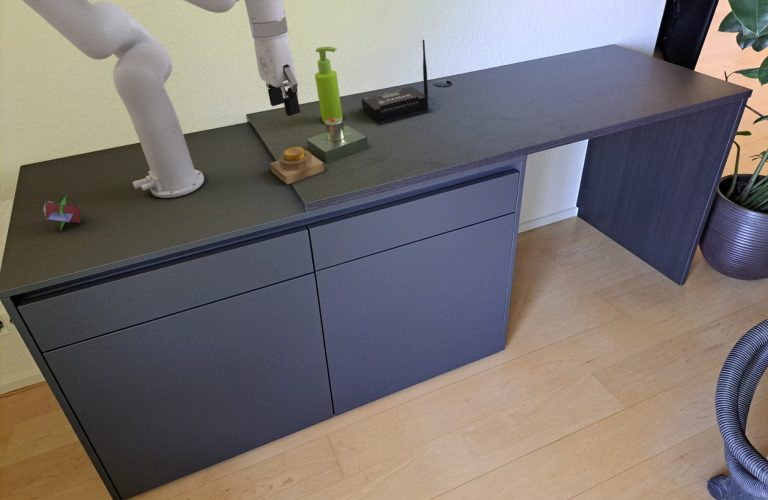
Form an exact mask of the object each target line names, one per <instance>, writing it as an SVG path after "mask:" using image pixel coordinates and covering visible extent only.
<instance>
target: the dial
mask: <svg viewBox="0 0 768 500" xmlns="http://www.w3.org/2000/svg"><path fill="white" fill-rule="evenodd" d="M343 120H344V119H343V118H342V119H341V118H331V117H330V118H329V119H328V120H326V121H325V122H324V125H325V129H326V130H325V133H326V132H327V138H328V140H329V141H340V140H342V139H344V138H345V134H344V122H343Z"/></svg>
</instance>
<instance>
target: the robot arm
mask: <svg viewBox="0 0 768 500" xmlns="http://www.w3.org/2000/svg"><path fill="white" fill-rule="evenodd" d="M21 1H22V2H23V3H24V4H25V5H26V6H28V7H29V8H31V10H33V11H34V12H35V13H36V14H38V15H39V16H40V17H41V18H42V19H43V20H44V21H45V22H46V23H47V24H48V25H50V26H51V27H52V28H53V29H55V30H56V31H57V32H58V33H59V34H60V35H61V36H63V37H64V38H65V39H66V40H67V41H68V42H69V43H70V44H72V45H73V46H74V47H75V48H76V49H78V50H79V51H80V52H81V53H83V54H84V55H85V56H87V57H88V58H90V59H92V60H93V59H94V60H97V61H98V60H106V59H108V58H110V57H111V56H113V55H114V56H115V57H116V58H117V59H118V60H117V61H116V63H115V65H114V67H113V72H112V80H113V85H114V88H115V90H116V91H117V94H118V96H119V98H120V99H121V101H122V103H123V105H124V107H125V108H126V111H127V114H128V115H129V117H130V118H129V119H130V121H131V123H132V126H133V129H134V131H135V133H136V135H137V138H138V141H139V143H140V146H141V148H142V152H143V155H144V157H145V159H146V162H147V165H148V167H149V170H148V171H147V173H148V175H146V176H145V178H141V179H138V180H135V181H132V185H133V188H134V189H135V190H139V189H141V190H142V191H143V192H145V191H147V190H150V192H151V194H152V196H154V197H157V198H160V199H161V198H162V199H170V198H171V199H172V198H177V197H181V196H185V195H188V194H191V193H193V192H195V191H196V190H197V189H199V188H200V187H201V186H202V185H203V184H204V182H205V177H204V174H203V172H202V171H200V170H198V169H195V166H194V163H193V161H192V157H191V155H190V150H189V147H188V145H187V141H186V139H185V135H184V132H183V129H182V125H181V124H180V120H179V118H178V114H177V111H176V108H175V106H174V104H173V102H172V100H171V98H170V96H169V94H168V92H167V90H166V87H165V84H166V82H167V81H168V79H169V78H170V76H171V73H172V72H173V60H172V57H171V55H170V53H169V52H168V50H167V49H166V47H165V46H163V44H161V42H160V41H159V40H158V39H156V37H155V36H153V35H152V34H151V32H149V31H148V30H147V29H146V28H145V27H144V26H142V25H141V24H140V22H139V21H137V20H136V19H135V18H134V17H133V16H132V15H131V14H130V13H129V12H127V11H126V10H125V9H123V8H122V7H121V6H120V5H117V4H115V3H112V2H109V1H95V2H93V3H91V2H90V1H89V0H21ZM183 1H185V2H186V3H189V4H191V5H193V6H194V7H198V8H200V9H203V10H205V11H207V12H211V13H215V14H221V13H226V12H229V11H230V10H231V9H233V7H234V6H235V5H236V3H238V2H239V1H240V0H183ZM243 1H244V3H245V9H246V12H247V17H248V22H249V27H250V31H251V37H252V39H253V42H254V43H253V45H254V52H255V57H256V64H257V68H258V75H259V78H260V79H261V80H262V81H264V82H265V86H266V88H267V93H268V99H269V103H270V106H271V107H276V106H279V105H283V106H284V111H285V115H286V116H287V117H291V116H293V115H297V114H300V113H301V109H300V103H299V98H298V95H299V93H298V85H299V82H298V80H297V75H296V68H295V65H294V64H295V63H294V59H293V53H292V50H291V47H290V42H289V39H288V36H287V35H288V34H289V27H288V23H287V22H288V21H287V17H286V10H285V6H284V0H243ZM285 81H287V82H285ZM286 88H287V89H286Z"/></svg>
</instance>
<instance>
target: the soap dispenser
mask: <svg viewBox="0 0 768 500" xmlns="http://www.w3.org/2000/svg"><path fill="white" fill-rule="evenodd" d="M336 50H338V48H337V47H335V46H334V47H333V46H322V47H317V48H316V49H315V53H318V54H319V60H317V68H318V72H316V73H315V74H314V80H315V84H316V85H315V86H316V91H317V96H318V97H317V98H318V101H319V102H318V103H319V110H320V115H321V121H322V122H323V123H325V121H326V120H328V119H329V118H330V117H331V118H341V119H342V120H343V111H342V105H341V97H340V88H339V83H338V75H337V72H336V71H335V70H332V66H331V60H330V59H329V58H327V54H326V53H327V52H332V53H335V52H336Z"/></svg>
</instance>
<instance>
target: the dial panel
mask: <svg viewBox="0 0 768 500" xmlns="http://www.w3.org/2000/svg"><path fill="white" fill-rule="evenodd" d="M343 127H344V134H345V138H344V139H342V140H340V141H329V140H328V138H327V132H326V131H325V132H324V133H320V134H318V135H314V136H312V137H307V138H306V143H307V148H308V149H307V150H308V151H309V152H310V153H312V154H314V156H317V157H318V158H320V159H321V160H323V161H324V162H326V163H330V162H332V161H334V160H335V161H336V160H337V159H340V158H343V157H346V156H348V155H352V154H354V153H356V152H360V151H363V150H365V149H368V147H369V146H368V139H367V138H368V137H367V136H366V135H364V134H362V133H361V132H359V131H357V130H356V129H354V128H352V127H350V126H349V125H343Z"/></svg>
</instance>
